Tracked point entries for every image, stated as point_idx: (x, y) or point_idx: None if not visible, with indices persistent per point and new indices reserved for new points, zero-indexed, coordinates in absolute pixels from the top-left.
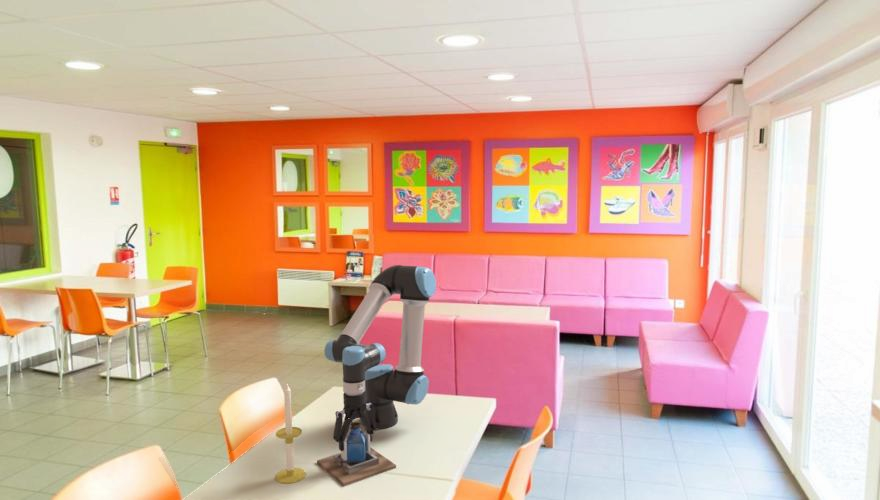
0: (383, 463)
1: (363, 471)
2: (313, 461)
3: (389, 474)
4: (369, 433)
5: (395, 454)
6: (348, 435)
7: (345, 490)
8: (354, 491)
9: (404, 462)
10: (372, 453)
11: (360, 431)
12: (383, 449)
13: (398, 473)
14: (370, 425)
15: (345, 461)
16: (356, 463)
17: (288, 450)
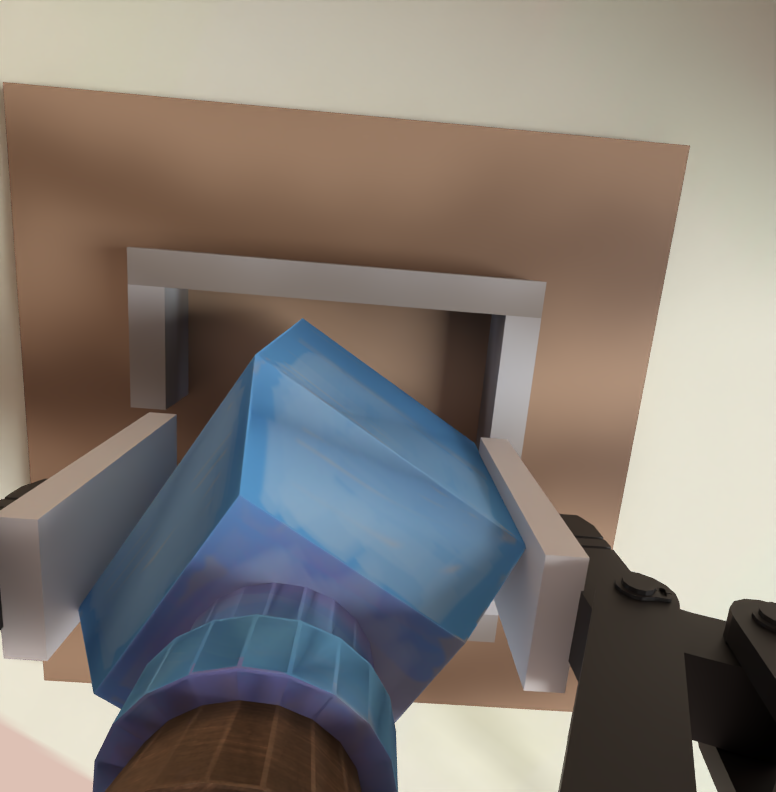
0: None
1: None
2: (6, 23)
3: (458, 737)
4: (580, 666)
5: (751, 502)
6: (206, 474)
7: (41, 714)
8: (93, 764)
9: None
10: (583, 388)
11: (417, 662)
12: (755, 334)
13: (522, 767)
14: (752, 671)
15: (259, 345)
16: None
17: None
